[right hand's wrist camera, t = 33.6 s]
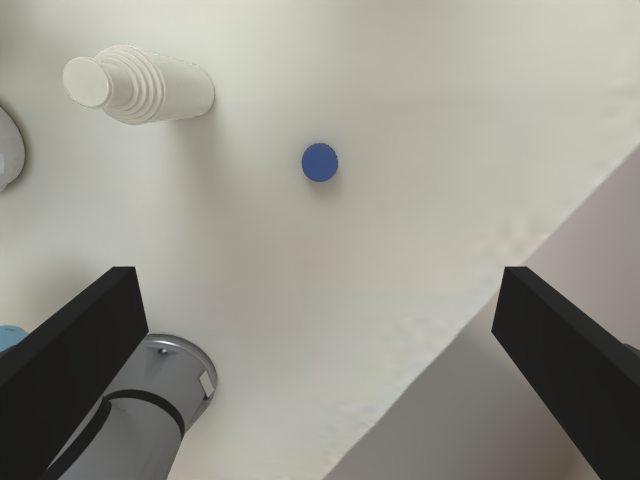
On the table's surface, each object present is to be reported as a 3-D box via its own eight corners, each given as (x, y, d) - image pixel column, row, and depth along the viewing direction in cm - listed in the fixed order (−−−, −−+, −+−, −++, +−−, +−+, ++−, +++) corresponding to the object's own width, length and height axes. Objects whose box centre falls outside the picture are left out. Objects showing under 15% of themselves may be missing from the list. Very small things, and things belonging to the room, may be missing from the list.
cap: (295, 160, 42) (293, 163, 40) (320, 135, 41) (320, 137, 39) (319, 185, 43) (319, 189, 41) (344, 161, 42) (345, 164, 40)
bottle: (191, 51, 38) (81, 9, 20) (225, 97, 39) (150, 95, 22) (153, 83, 39) (19, 70, 21) (188, 127, 40) (89, 147, 23)
